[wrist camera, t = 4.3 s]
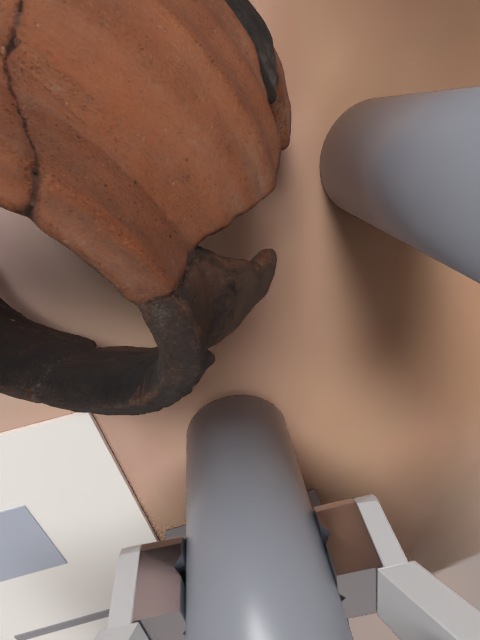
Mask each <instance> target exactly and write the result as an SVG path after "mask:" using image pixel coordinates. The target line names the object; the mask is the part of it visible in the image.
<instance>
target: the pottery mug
mask: <svg viewBox="0 0 480 640" xmlns="http://www.w3.org/2000/svg"><path fill="white" fill-rule="evenodd" d="M290 132H291V105H290V101H289V97H288V93H287V88H286V82H285V77H284V71H283V67H282V64H281V61H280V59H279V57H278V54H277V52H276V50H275V49H274V46H273V40H272V36H271V34H270V31H269V30H268V28H267V26H266V24H265V22H264V20H263V19H262V17H261V16H260V15H259V13H258V12H257V11H256V9H255V8H254V7H253V5H252V4H251V3H250V2H249V1H248V0H0V207H2V208H4V209H7V210H9V211H12V212H15V213H18V214H20V215H23V216H27V217H28V218H30V219H31V220H32V221H33V222H34V223H35V224H36V225H37V226H38V227H39V228H40V229H41V230H42V231H44V232H45V233H46V234H48V235H49V236H51V237H52V238H54V239H55V240H57V241H59V242H60V243H62V244H63V245H65V246H66V247H68V248H69V249H71V250H72V251H73V252H75V253H76V254H77V255H78V256H80V257H81V258H82V259H83V260H84V261H85V262H87V263H88V264H89V265H90V266H92V267H93V268H94V269H95V270H97V271H98V272H99V273H100V274H101V275H102V276H103V277H105V278H106V279H107V280H108V281H109V282H110V283H111V284H113V285H114V286H115V287H116V288H117V289H118V290H119V291H120V292H121V293H122V294H123V296H124V297H125V298H126V299H128V300H129V301H131V302H133V303H134V304H136V305H137V306H138V307H139V308H140V310H141V312H142V315H143V318H144V320H145V321H146V324H147V326H148V328H149V329H150V331H151V333H152V335H153V337H154V339H155V341H156V343H157V346H158V347H155V348H143V347H130V346H114V347H105V348H98V347H96V343H95V342H94V341H92V340H90V339H87V338H84V337H81V336H79V335H73V334H70V333H66V332H62V331H58V330H55V329H51V328H49V327H46V326H44V325H41V324H38V323H35V322H33V321H31V320H29V319H27V318H26V317H24V316H23V315H22V314H20V313H19V312H17V311H16V310H14V309H13V308H11V307H10V306H9V305H8V304H7V303H6V302H4V301H3V300H2V299H1V298H0V393H3V394H6V395H9V396H12V397H15V398H19V399H23V400H27V401H31V402H35V403H44V404H47V405H49V406H53V407H57V408H61V409H66V410H71V411H74V412H80V413H95V414H104V415H139V414H146V413H150V412H155V411H159V410H161V409H162V408H164V407H168V406H171V405H172V404H174V403H175V402H177V401H179V400H180V399H181V398H182V397H184V396H186V395H188V394H189V393H191V392H192V388H193V387H194V386H195V385H196V384H197V383H198V382H199V380H200V379H201V377H202V375H203V374H204V372H205V371H206V369H207V368H208V367H209V366H210V365H212V364H213V363H214V361H215V356H214V355H213V353H212V352H210V351H209V350H207V349H208V348H210V347H212V346H214V345H216V344H217V343H219V342H220V341H221V340H222V339H223V338H224V337H226V336H227V335H229V334H230V333H231V332H233V331H234V330H235V329H236V328H237V327H238V326H239V325H240V323H241V322H242V321H243V319H244V318H245V317H246V315H247V314H248V313H249V312H250V311H251V309H252V308H253V307H254V306H255V304H256V303H258V302H259V301H260V300H261V299H262V298H263V297H264V296H265V295H266V294H267V292H268V289H269V287H270V284H271V282H272V279H273V276H274V273H275V268H276V261H277V257H276V253H275V251H274V250H273V249H264V250H262V251H260V252H259V253H258V254H257V255H256V256H254V257H253V258H252V259H251V260H250V261H249V262H248V261H247V260H245V259H239V260H237V259H231V258H226V257H220V256H218V255H216V254H215V253H214V252H212V251H209V250H206V249H204V248H201V247H199V246H198V244H199V243H200V242H201V241H202V240H203V239H204V238H206V237H207V236H209V235H212V234H215V233H216V232H218V231H221V230H222V229H224V228H226V227H227V226H228V225H229V224H230V223H231V221H232V220H233V219H235V218H236V217H238V216H240V215H242V214H244V213H246V212H247V211H248V210H250V209H251V208H252V207H253V206H255V205H256V204H257V203H258V202H259V201H260V200H262V199H264V198H265V197H266V196H268V195H269V194H270V193H271V192H272V191H273V190H274V188H275V175H276V172H277V169H278V166H279V158H280V153H281V150H284V149H286V148H287V147H288V145H289V142H290Z"/></svg>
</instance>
